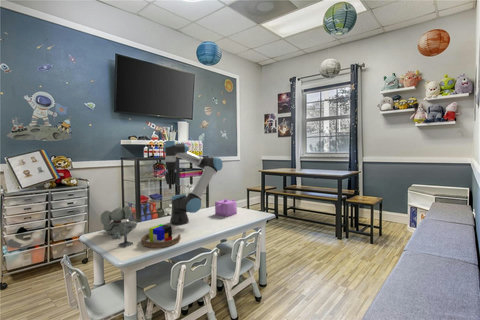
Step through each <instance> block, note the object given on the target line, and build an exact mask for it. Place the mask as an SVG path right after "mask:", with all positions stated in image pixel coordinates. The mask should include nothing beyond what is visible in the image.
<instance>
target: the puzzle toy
mask: <svg viewBox="0 0 480 320" xmlns="http://www.w3.org/2000/svg"><path fill="white" fill-rule="evenodd" d="M172 227H173V226H171V225H167V224H161V223H160V224H157V225H155V226H152V227H149V228H148V231H149V233H148V234H149V237H150V238H149V242H164V241H169V240H172V239H173V228H172Z"/></svg>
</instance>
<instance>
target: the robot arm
mask: <svg viewBox="0 0 480 320" xmlns="http://www.w3.org/2000/svg"><path fill="white" fill-rule="evenodd" d="M189 147H190V146H189V145H188V144H187V143H176V140H165V142H164V145H163V146H162V150H163V153H165V154H164V155H165V157H164V158H165V159H164V160H165V168H166V169H165V171H164V172H163V175H164V178H165V182H166V185H168V191H169V194H174V189H175V186H174V185H175V184H176V183H177V177H178V173H179V172H178V171H179V170H177V169H176V167H177V162H176V161H177V157H178V158H179V159H182V160H184V161H187V162H189V163H191V164H193V165H194V167H197V168H198V169H202V170H203V172H202V174H201V175H200V177H199V179H198V181H197V182H196V184H195V186H194V188H193V189H192V191H191V192H188V193H187V195H186V194H183V193H182V194H176V195H173V196H171V216H170V219H169V223H170V224H171V225H174V226H179V225H180V226H181V225H185V224H188V223H190V221H189V217H188V213H190V214H194V213H197V212H198V211H200V209H201V208H202V195H203V194H204V192H205V191H206V189H207V187H208V186H209V183H210V181H212V179H213V176H214V175H216V174H217V173H218V171H221V170H222V169H223V167H224V163H223V160H222V158H220V157H218V156H212V157H211V156H202V155H196V154H195V153H192V152H190V151H189V150H190V149H189Z"/></svg>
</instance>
